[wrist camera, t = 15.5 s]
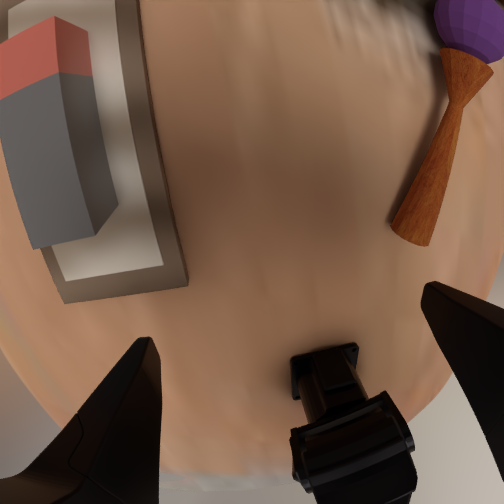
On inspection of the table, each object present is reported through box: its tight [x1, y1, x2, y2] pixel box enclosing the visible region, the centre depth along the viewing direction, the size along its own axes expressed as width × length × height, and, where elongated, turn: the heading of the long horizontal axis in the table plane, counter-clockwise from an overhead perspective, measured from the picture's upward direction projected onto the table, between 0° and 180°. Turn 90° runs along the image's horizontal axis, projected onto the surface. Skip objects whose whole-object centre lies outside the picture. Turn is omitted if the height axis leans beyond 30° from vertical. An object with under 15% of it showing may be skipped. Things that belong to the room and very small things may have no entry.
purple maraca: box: [390, 0, 504, 247], centre depth 16 cm, size 6×6×20 cm
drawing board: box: [0, 0, 189, 304], centre depth 15 cm, size 24×10×1 cm, turn 7°
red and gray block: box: [0, 16, 119, 250], centre depth 13 cm, size 11×4×4 cm, turn 7°
